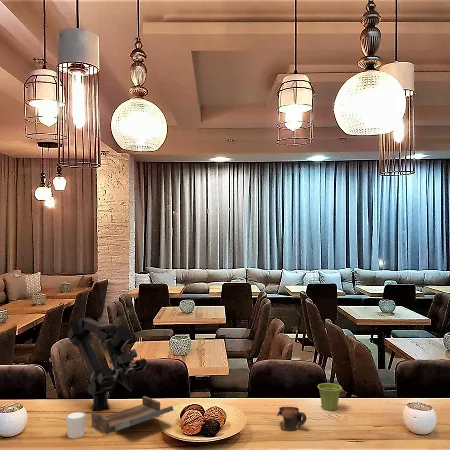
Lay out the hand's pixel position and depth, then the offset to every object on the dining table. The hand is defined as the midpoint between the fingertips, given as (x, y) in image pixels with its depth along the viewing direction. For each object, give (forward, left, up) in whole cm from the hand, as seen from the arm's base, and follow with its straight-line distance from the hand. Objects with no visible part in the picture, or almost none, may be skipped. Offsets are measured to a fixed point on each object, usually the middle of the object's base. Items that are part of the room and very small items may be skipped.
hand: (131, 390), depth 184 cm
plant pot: (+6, +78, -13) cm, 80 cm away
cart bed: (-4, -1, -12) cm, 13 cm away
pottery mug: (+18, +57, -13) cm, 61 cm away
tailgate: (+1, +1, -10) cm, 11 cm away
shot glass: (+4, -20, -13) cm, 24 cm away
